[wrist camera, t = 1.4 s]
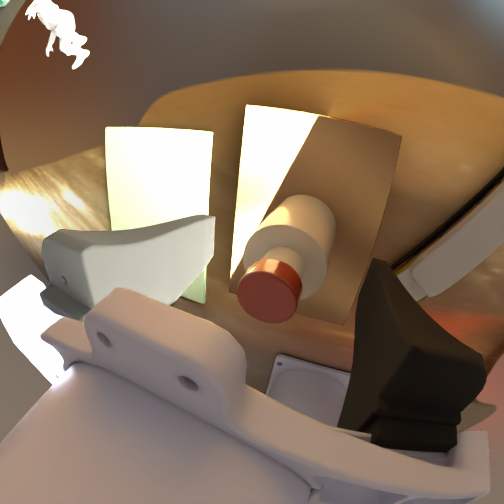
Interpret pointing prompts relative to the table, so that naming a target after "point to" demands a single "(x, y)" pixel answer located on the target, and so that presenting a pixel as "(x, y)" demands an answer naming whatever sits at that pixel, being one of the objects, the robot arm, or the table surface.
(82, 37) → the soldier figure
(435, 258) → the harmonica
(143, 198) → the mat
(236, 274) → the small bench
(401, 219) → the table surface
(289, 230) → the spice bottle
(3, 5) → the spray can
